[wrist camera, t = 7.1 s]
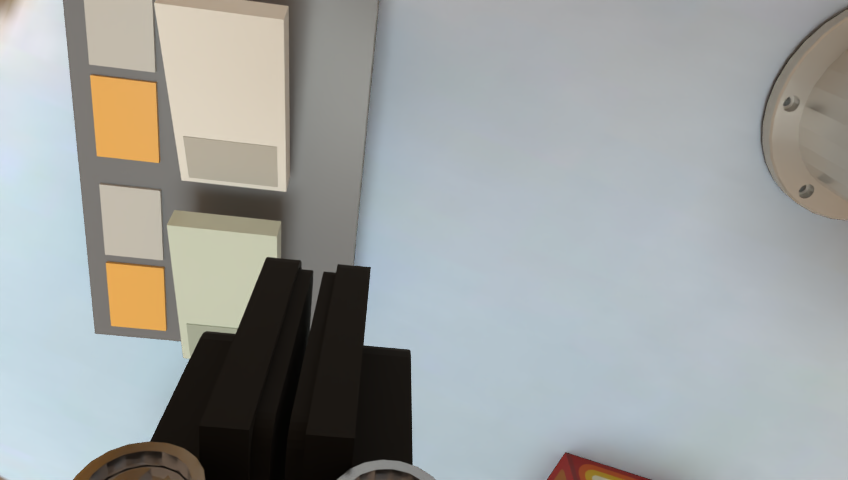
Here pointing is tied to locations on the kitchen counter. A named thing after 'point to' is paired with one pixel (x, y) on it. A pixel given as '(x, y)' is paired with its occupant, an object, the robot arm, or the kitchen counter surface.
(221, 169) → the rocker offwhite
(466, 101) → the kitchen counter surface
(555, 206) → the kitchen counter surface
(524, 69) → the kitchen counter surface
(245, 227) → the block
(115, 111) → the switch unit
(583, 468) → the baking soda box
